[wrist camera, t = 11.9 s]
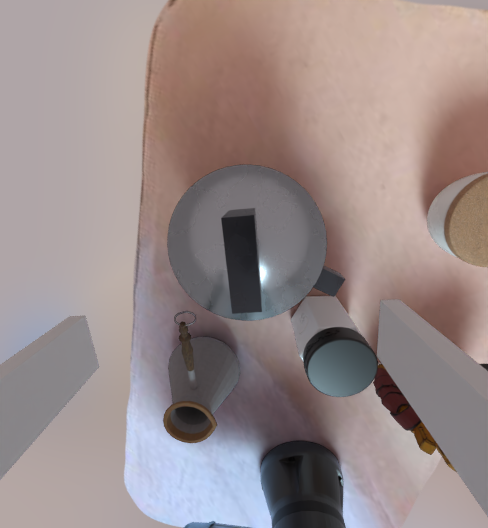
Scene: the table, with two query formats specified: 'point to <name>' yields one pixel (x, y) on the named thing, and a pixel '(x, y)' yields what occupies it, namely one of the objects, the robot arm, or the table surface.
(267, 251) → the lid
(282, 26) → the table surface
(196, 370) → the coffee pot
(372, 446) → the table surface
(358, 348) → the jar
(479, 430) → the robot arm
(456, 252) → the lidded jar
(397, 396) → the mug
